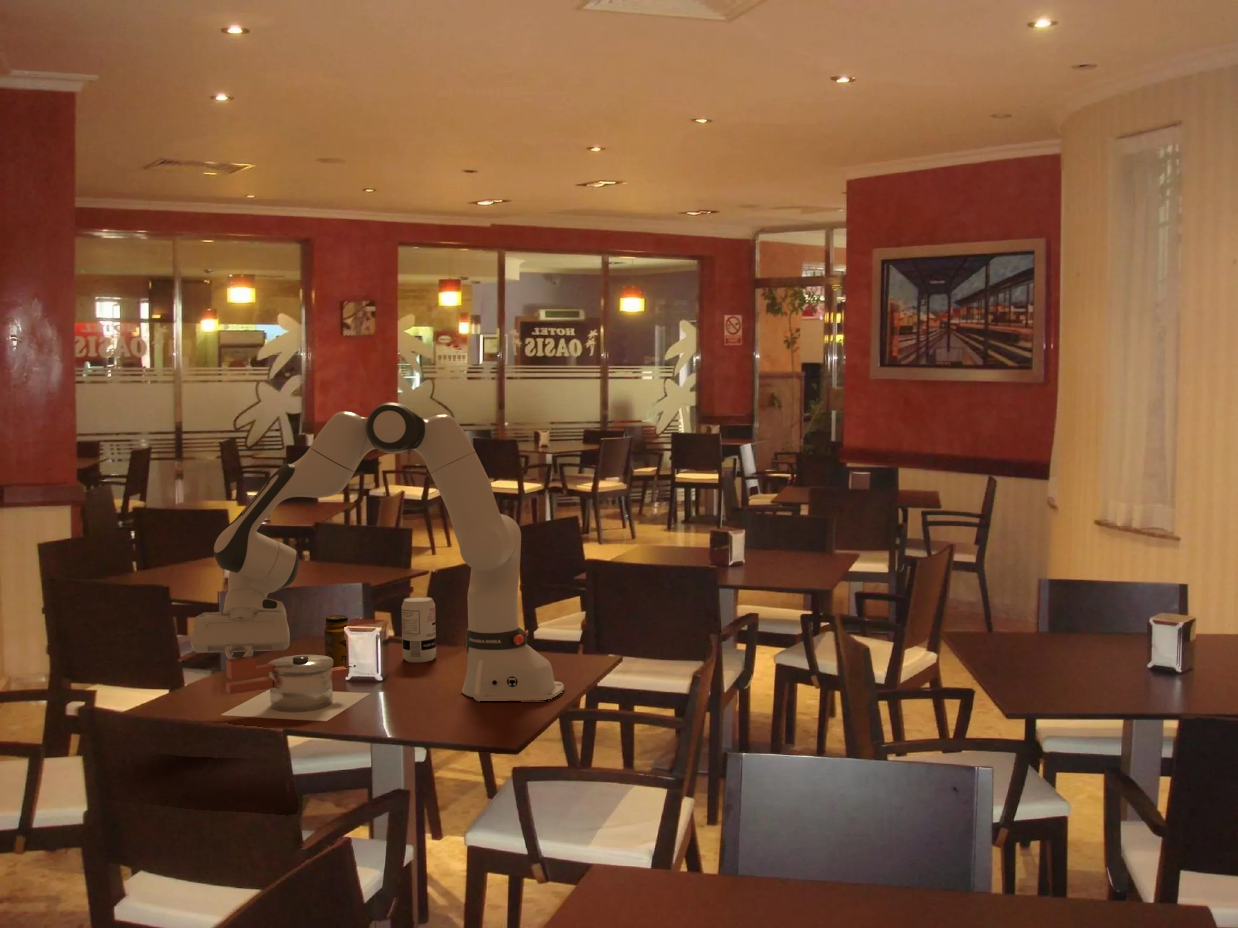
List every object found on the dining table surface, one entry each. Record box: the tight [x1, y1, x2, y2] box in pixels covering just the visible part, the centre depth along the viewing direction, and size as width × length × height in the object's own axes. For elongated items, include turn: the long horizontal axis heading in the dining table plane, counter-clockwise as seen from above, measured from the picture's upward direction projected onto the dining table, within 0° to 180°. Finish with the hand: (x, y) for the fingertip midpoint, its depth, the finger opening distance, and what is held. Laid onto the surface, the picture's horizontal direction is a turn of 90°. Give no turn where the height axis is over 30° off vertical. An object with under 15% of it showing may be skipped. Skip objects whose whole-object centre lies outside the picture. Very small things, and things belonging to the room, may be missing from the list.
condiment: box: [324, 614, 349, 667], centre depth 309 cm, size 7×8×12 cm
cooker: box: [225, 666, 349, 712], centre depth 272 cm, size 20×20×8 cm
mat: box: [220, 688, 372, 722], centre depth 274 cm, size 24×22×1 cm
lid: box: [225, 654, 333, 680], centre depth 270 cm, size 22×14×4 cm, turn 127°
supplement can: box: [401, 596, 437, 664], centre depth 315 cm, size 8×8×15 cm
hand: (237, 666), depth 268 cm, fingers closed
